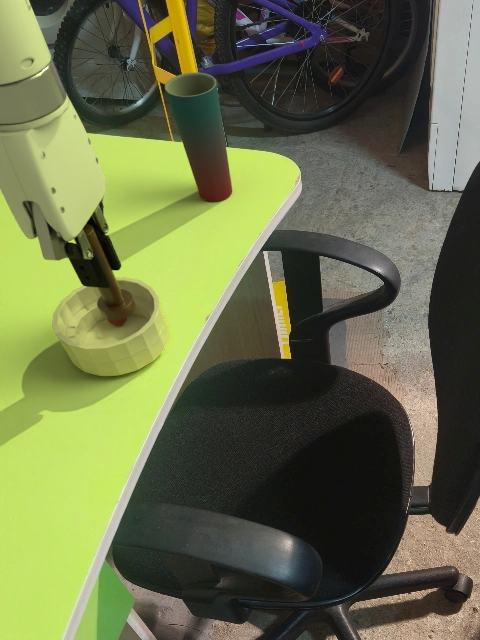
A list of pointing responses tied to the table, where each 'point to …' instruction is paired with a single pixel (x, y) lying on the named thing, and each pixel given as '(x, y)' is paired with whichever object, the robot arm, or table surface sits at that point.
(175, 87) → the cup
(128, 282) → the bowl
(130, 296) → the masher
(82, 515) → the table surface
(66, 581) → the table surface
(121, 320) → the red ball
